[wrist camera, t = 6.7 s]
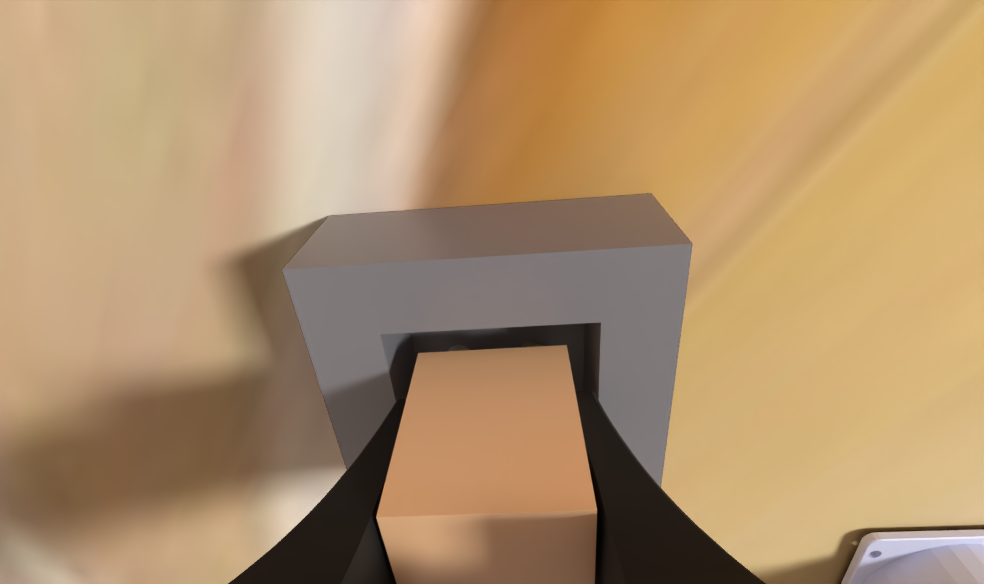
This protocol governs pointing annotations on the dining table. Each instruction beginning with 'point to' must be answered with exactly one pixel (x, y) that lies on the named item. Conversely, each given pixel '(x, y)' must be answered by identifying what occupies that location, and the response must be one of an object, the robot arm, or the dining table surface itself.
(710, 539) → the robot arm
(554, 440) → the plug
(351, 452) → the socket
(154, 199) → the dining table surface
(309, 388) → the dining table surface
